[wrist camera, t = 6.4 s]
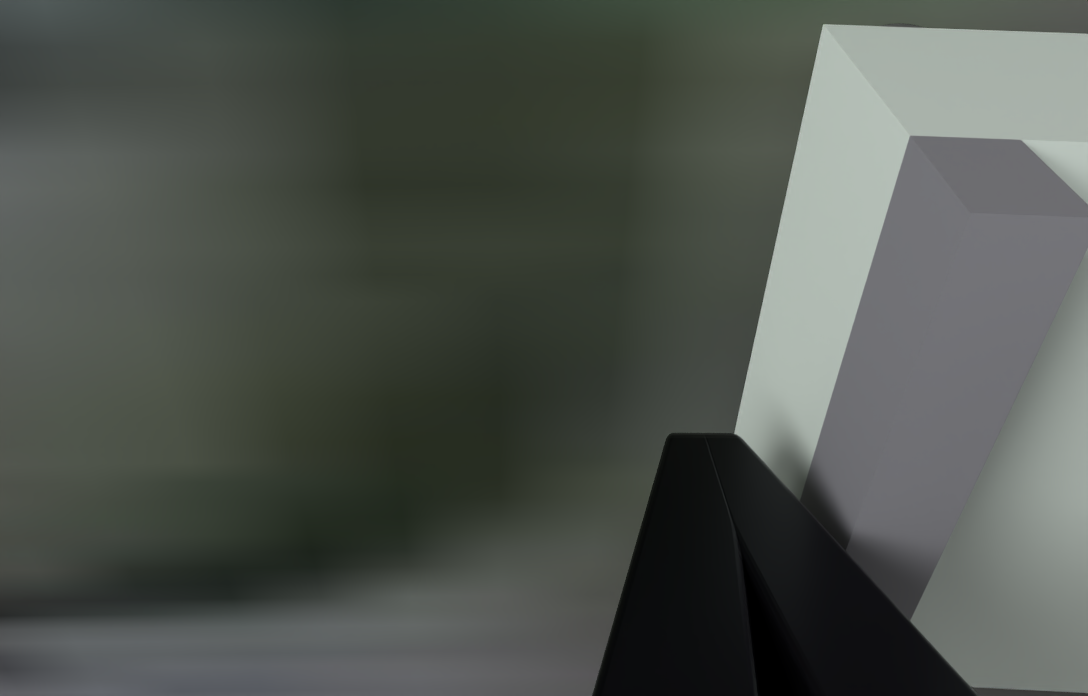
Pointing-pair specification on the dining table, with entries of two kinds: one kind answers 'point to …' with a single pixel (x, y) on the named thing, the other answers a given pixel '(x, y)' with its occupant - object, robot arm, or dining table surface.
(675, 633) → the robot arm
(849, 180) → the pale green box
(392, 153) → the dining table surface
